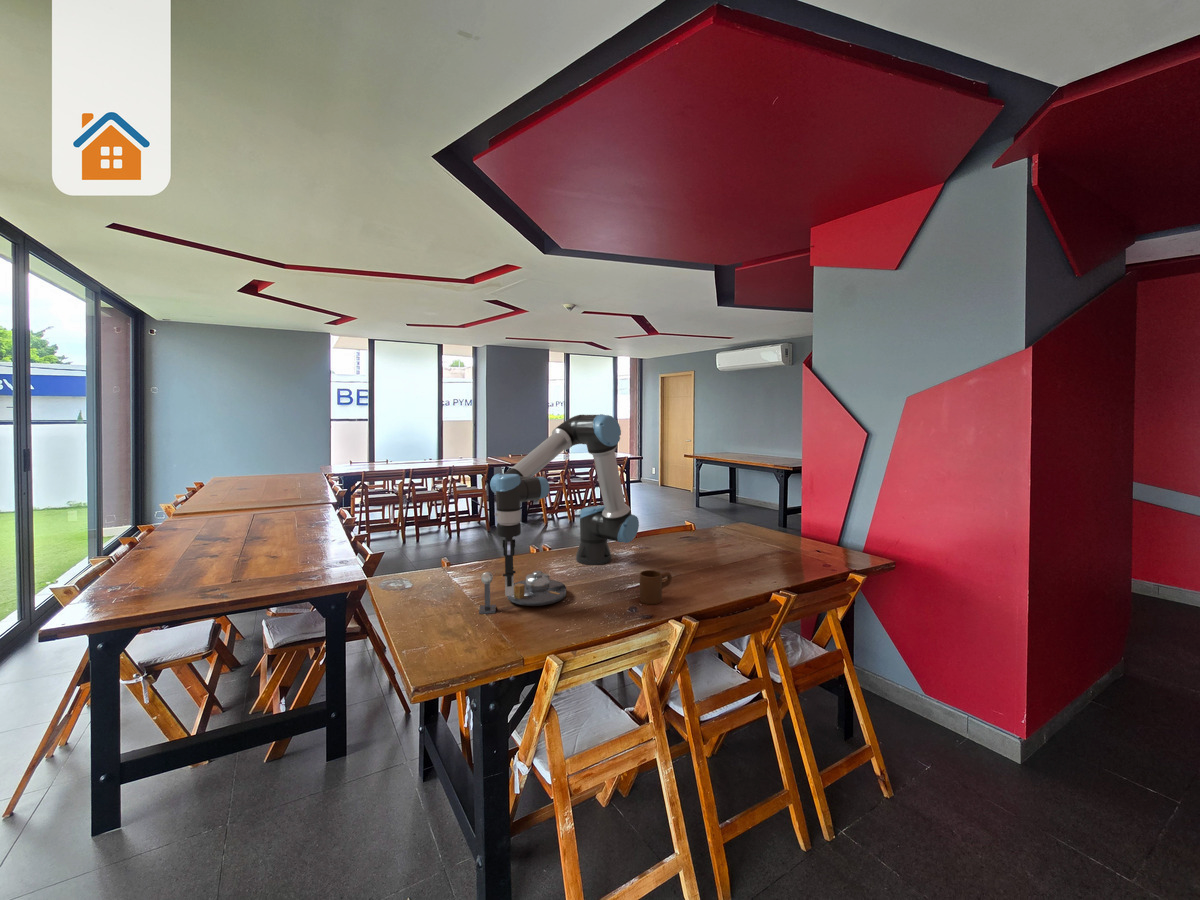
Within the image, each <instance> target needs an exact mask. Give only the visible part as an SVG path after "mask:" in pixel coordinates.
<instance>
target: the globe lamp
mask: <svg viewBox="0 0 1200 900" xmlns="http://www.w3.org/2000/svg"><path fill="white" fill-rule="evenodd" d="M493 575H494V574H492V572H490V571H484V572H483V573H482V574H481V576H480V580H481V582H482V583H483V585H484V604H482V605H479V610H478V615H483V614H484V615H485V614H488V615H489V614H496V610H497V605H496V604H491V583H492V582H493V579H494V576H493Z"/></svg>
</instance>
